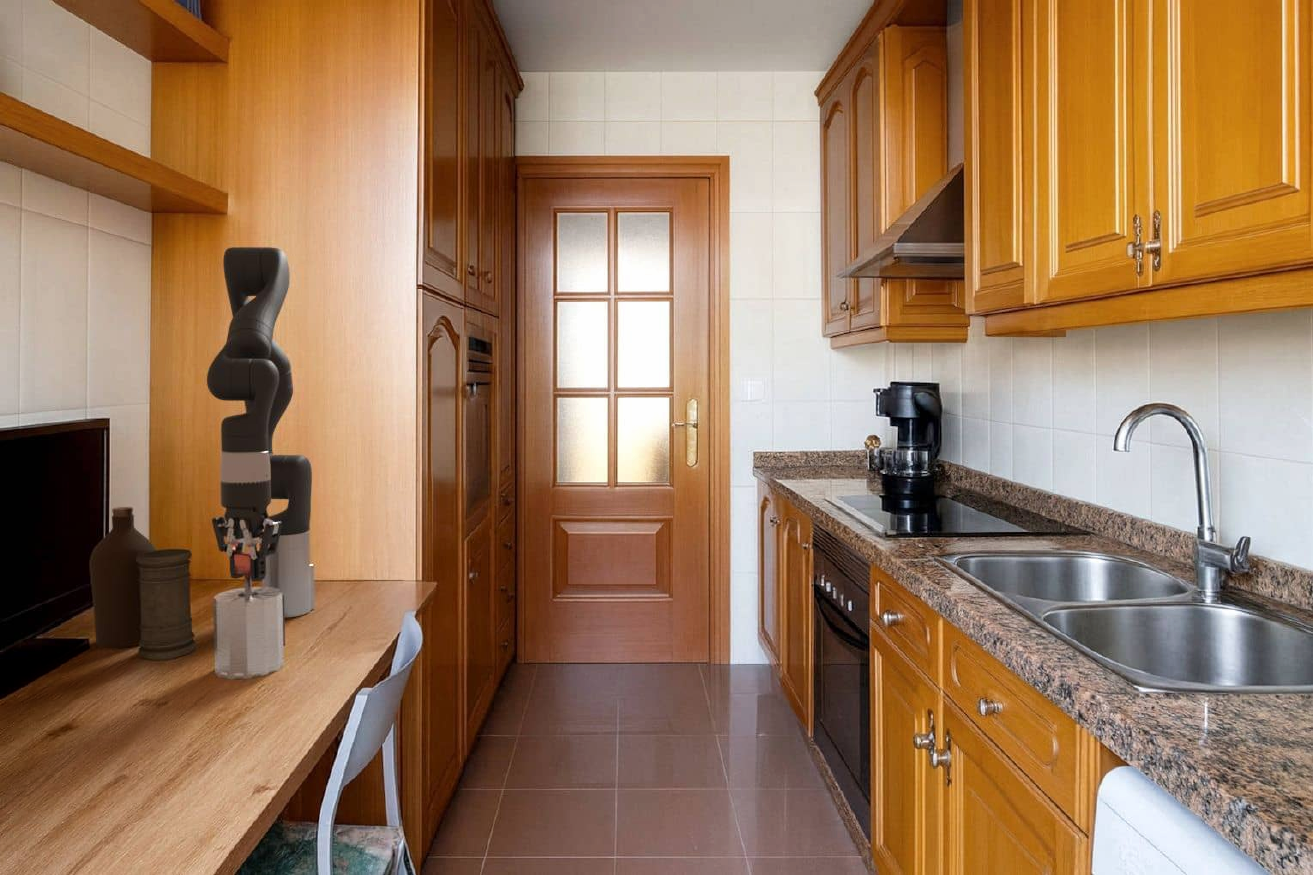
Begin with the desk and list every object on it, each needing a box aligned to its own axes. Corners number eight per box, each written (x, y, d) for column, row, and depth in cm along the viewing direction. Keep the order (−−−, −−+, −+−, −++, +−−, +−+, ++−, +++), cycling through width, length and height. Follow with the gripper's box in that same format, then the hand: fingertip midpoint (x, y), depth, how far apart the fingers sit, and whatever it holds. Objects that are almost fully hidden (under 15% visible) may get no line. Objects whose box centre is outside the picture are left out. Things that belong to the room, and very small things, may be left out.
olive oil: (87, 653, 144) (82, 514, 142) (97, 636, 154) (93, 505, 152) (156, 646, 149) (153, 510, 147) (163, 629, 158) (159, 502, 157)
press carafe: (260, 652, 146) (258, 582, 146) (303, 660, 143) (302, 588, 142) (201, 673, 136) (199, 598, 135) (246, 683, 132) (245, 605, 131)
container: (169, 662, 141) (166, 560, 139) (125, 658, 142) (122, 556, 141) (207, 646, 149) (205, 549, 148) (165, 642, 151) (163, 546, 150)
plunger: (251, 643, 143) (249, 547, 142) (282, 648, 140) (280, 551, 139) (215, 655, 136) (213, 555, 135) (247, 661, 134) (245, 559, 132)
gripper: (295, 478, 137) (297, 578, 138) (234, 473, 142) (236, 570, 143) (258, 483, 130) (260, 588, 131) (195, 477, 135) (197, 579, 136)
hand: (247, 578), depth 137 cm, fingers closed on plunger, 4 cm apart
